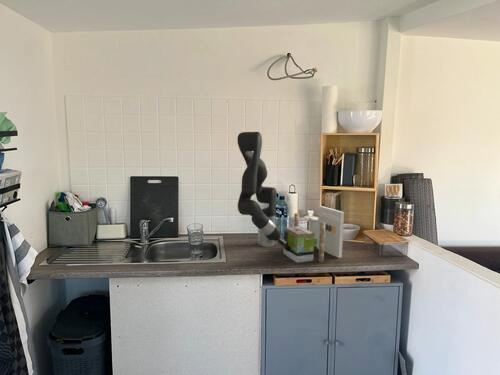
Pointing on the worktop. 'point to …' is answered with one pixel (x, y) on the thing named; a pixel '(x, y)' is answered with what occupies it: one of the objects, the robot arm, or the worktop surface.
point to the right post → (321, 242)
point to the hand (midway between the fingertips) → (288, 249)
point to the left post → (296, 220)
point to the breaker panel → (331, 230)
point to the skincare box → (313, 227)
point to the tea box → (299, 243)
